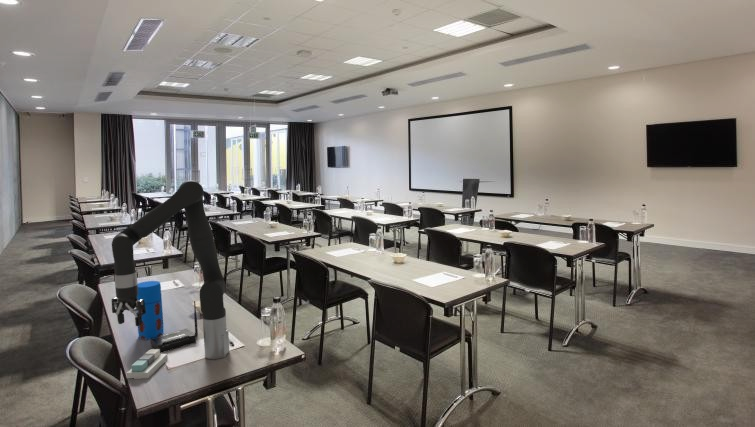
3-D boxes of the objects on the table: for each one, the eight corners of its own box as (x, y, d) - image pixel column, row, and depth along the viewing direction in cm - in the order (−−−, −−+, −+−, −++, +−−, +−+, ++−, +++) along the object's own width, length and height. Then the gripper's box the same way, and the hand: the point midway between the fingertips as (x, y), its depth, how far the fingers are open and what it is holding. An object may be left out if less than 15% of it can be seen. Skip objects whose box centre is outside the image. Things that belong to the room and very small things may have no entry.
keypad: (167, 359, 181) (167, 353, 181) (148, 378, 165) (147, 372, 165) (148, 359, 181) (148, 353, 180) (127, 378, 165) (126, 372, 165)
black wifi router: (160, 355, 185) (157, 317, 183) (149, 345, 195) (147, 309, 193) (206, 341, 199) (204, 305, 197) (194, 332, 209) (192, 298, 207)
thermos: (150, 340, 200) (146, 288, 196) (133, 337, 203) (129, 286, 200) (169, 331, 210) (165, 281, 207) (151, 329, 213) (148, 280, 210)
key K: (160, 356, 180) (159, 349, 179) (155, 360, 176) (154, 353, 175) (150, 356, 180) (150, 349, 179) (145, 360, 176) (145, 353, 175)
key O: (147, 367, 170) (147, 360, 169) (142, 372, 166) (141, 365, 165) (137, 367, 170) (137, 360, 169) (132, 372, 166) (131, 365, 165)
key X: (154, 361, 175) (153, 354, 174) (149, 366, 171) (148, 359, 170) (144, 361, 175) (143, 354, 174) (139, 366, 171) (138, 359, 170)
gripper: (148, 283, 169) (152, 322, 171) (120, 280, 173) (123, 319, 175) (133, 288, 162) (136, 329, 164) (103, 286, 166) (107, 326, 168)
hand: (130, 324), depth 170 cm, fingers open, 8 cm apart
